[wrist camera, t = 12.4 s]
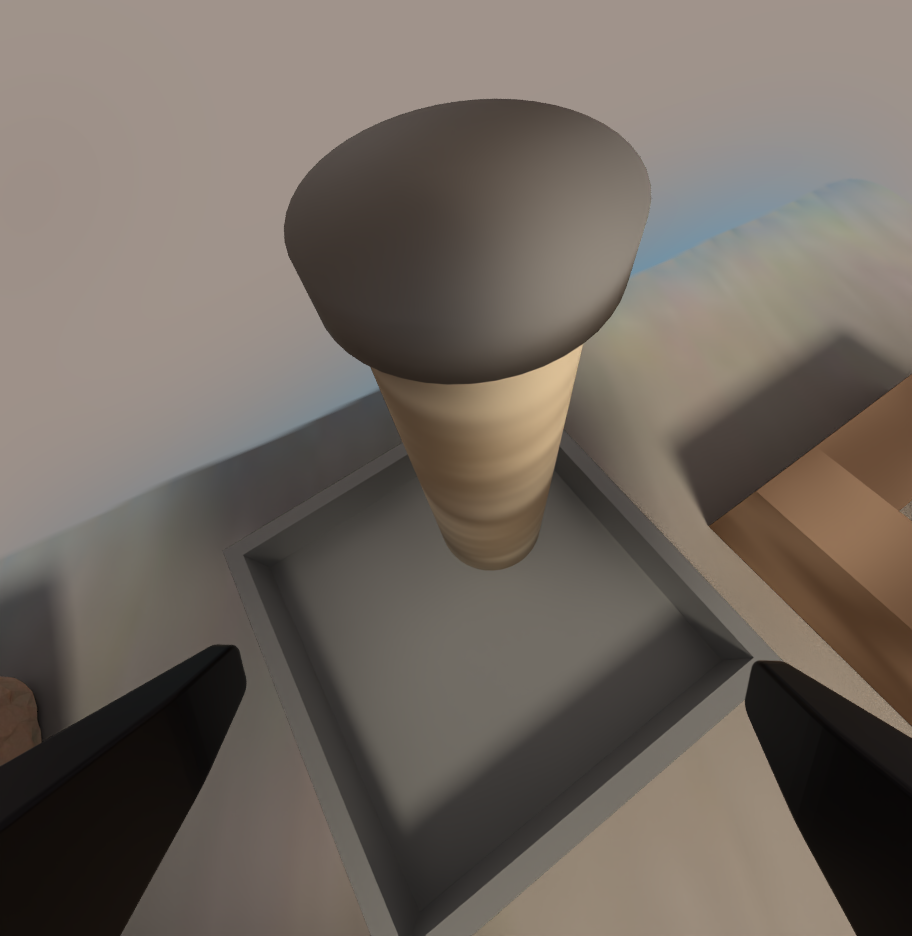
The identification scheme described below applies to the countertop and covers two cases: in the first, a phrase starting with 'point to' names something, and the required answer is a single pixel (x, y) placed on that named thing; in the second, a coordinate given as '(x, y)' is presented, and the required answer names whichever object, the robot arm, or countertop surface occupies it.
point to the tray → (481, 681)
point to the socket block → (844, 542)
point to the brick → (17, 719)
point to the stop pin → (473, 291)
